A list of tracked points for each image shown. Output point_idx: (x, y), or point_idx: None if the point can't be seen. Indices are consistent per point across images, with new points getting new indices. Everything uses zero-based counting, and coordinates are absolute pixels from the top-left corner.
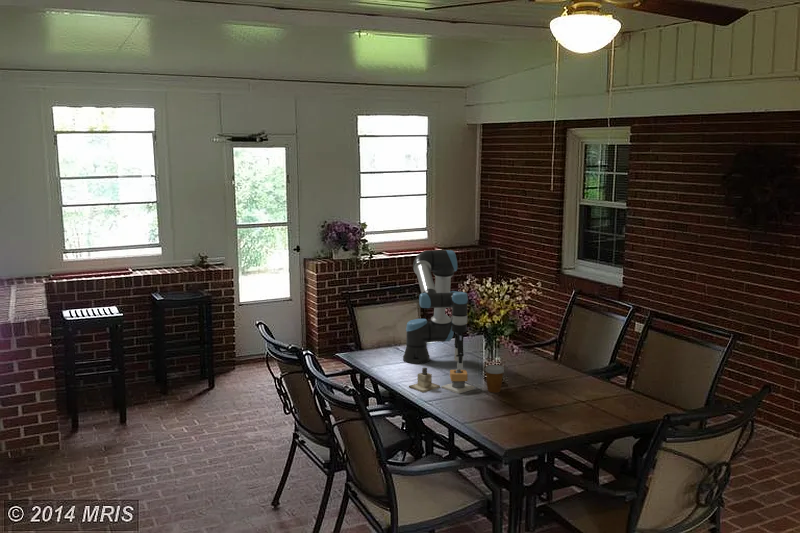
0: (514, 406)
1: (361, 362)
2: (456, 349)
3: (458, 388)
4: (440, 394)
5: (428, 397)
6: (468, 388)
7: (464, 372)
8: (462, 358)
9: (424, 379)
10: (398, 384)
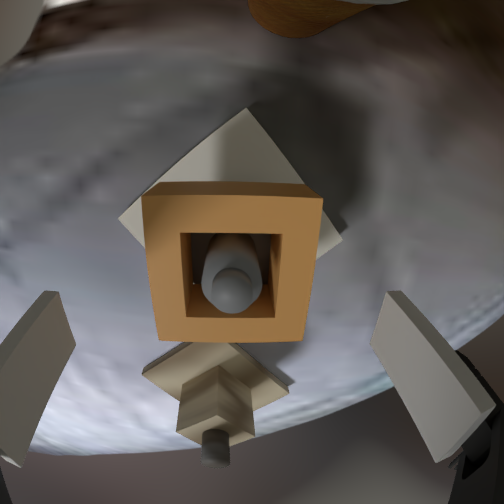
0: (497, 35)
1: None
2: (13, 445)
3: None
4: (330, 325)
5: (356, 365)
6: (281, 163)
7: (252, 222)
8: (473, 386)
9: (252, 421)
10: (182, 436)
